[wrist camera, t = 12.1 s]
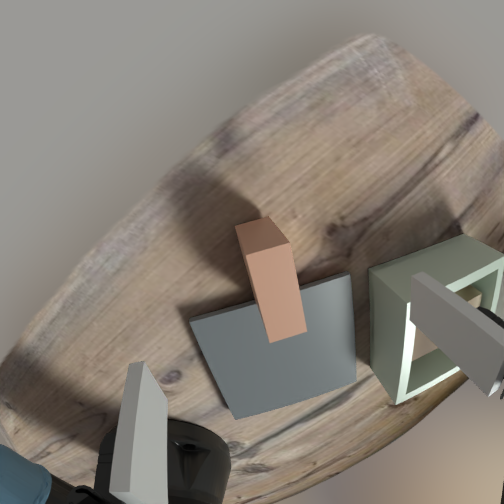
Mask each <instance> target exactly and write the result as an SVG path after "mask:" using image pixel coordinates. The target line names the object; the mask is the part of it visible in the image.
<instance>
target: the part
mask: <svg viewBox="0 0 504 504" xmlns="http://www.w3.org/2000/svg"><path fill="white" fill-rule="evenodd" d="M437 348H438V347H437V346H436V345H435V344H434V343H433V342H432V341H431V340H430V339H429V338H428V337H427V336H426V335H425V334H424V333H423V332H421V331H420V330H419V329H418V328H417V327H416V330H415V339H414V347H413V354H412V361H414V360H416V359H418V358H420V357H422V356H424V355H426V354H427V353H429V352H431V351H433V350H435V349H437ZM412 361H411V362H412Z"/></svg>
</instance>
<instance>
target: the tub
mask: <svg viewBox="0 0 504 504" xmlns="http://www.w3.org/2000/svg"><path fill="white" fill-rule="evenodd" d="M422 271H423V272H425V273H426V274H428V275H429V276H431V277H432V278H434V279H435V280H437V281H438V282H440V283H441V284H442V285H444V286H445V287H447V288H448V289H450V290H451V291H453V292H456V291H458V290H460V289H462V288H464V287H466V286H468V285H471V286H473V287H474V288H476V289H477V290H479V291H480V292H481V293H482V298H481V303H480V307H483V308H486V309H489V310H490V311H492V312H493V313H494V314H495V311H496V307H497V302H498V298H499V293H500V288H501V282H502V277H503V271H504V254H503V253H501V252H499V251H497V250H495V249H493V248H492V247H490V246H488V245H486V244H484V243H482V242H480V241H478V240H476V239H474V238H472V237H470V236H468V235H466V234H461V235H459V236H456V237H454V238H451V239H449V240H446V241H443V242H441V243H438V244H435V245H433V246H430V247H427V248H425V249H422V250H419V251H417V252H414V253H411V254H408V255H406V256H403V257H400V258H397V259H394V260H391V261H389V262H386V263H383V264H380V265H377V266H374V267H371V268H368V277H369V298H370V368H371V369H372V371H373V372H374V374H375V375H376V376H377V378H378V379H379V381H380V382H381V384H382V385H383V387H384V388H385V390H386V391H387V393H388V394H389V396H390V397H391V399H392V400H393V402H394V403H395V405H397V404H399V403H401V402H403V401H405V400H407V399H409V398H411V397H413V396H415V395H417V394H419V393H421V392H422V391H424V390H426V389H428V388H430V387H432V386H433V385H435V384H437V383H439V382H440V381H442V380H444V379H446V378H447V377H449V376H451V375H452V374H454V373H455V372H457V371H459V370H460V368H459V367H458V366H457V365H456V364H455V363H454V362H453V361H452V360H451V359H450V358H449V357H448V356H447V355H446V354H444V353H443V352H442V351H441V350H440V349H439V348H437V349H435V350H433V351H431V352H429V353H427V354H426V355H424V356H422V357H420V358H418V359H416V360H414V361H412V354H413V347H414V339H415V330H416V326H415V325H414V324H413V323H412V322H411V321H410V320H409V319H410V301H411V276H412V275H415V274H417V273H419V272H422ZM411 361H412V362H411Z"/></svg>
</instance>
